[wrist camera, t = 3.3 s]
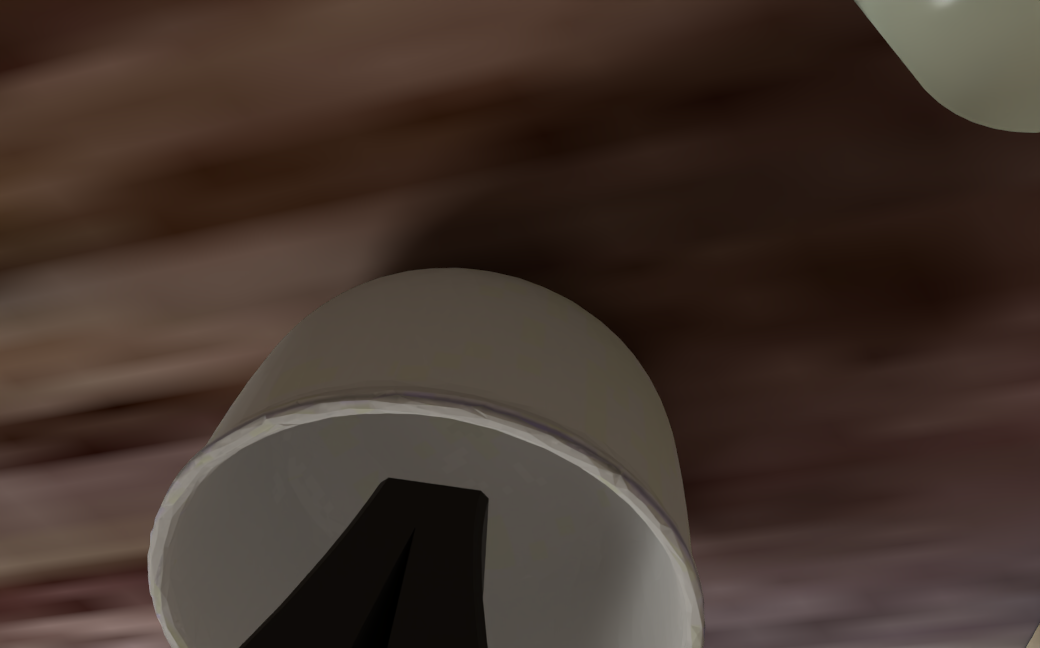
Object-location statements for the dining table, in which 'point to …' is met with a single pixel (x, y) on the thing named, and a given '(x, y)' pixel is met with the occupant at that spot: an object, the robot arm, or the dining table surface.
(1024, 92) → the sage shaker
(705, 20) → the dining table surface
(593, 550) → the teacup
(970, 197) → the dining table surface
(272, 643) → the robot arm
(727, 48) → the dining table surface
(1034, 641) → the bar
